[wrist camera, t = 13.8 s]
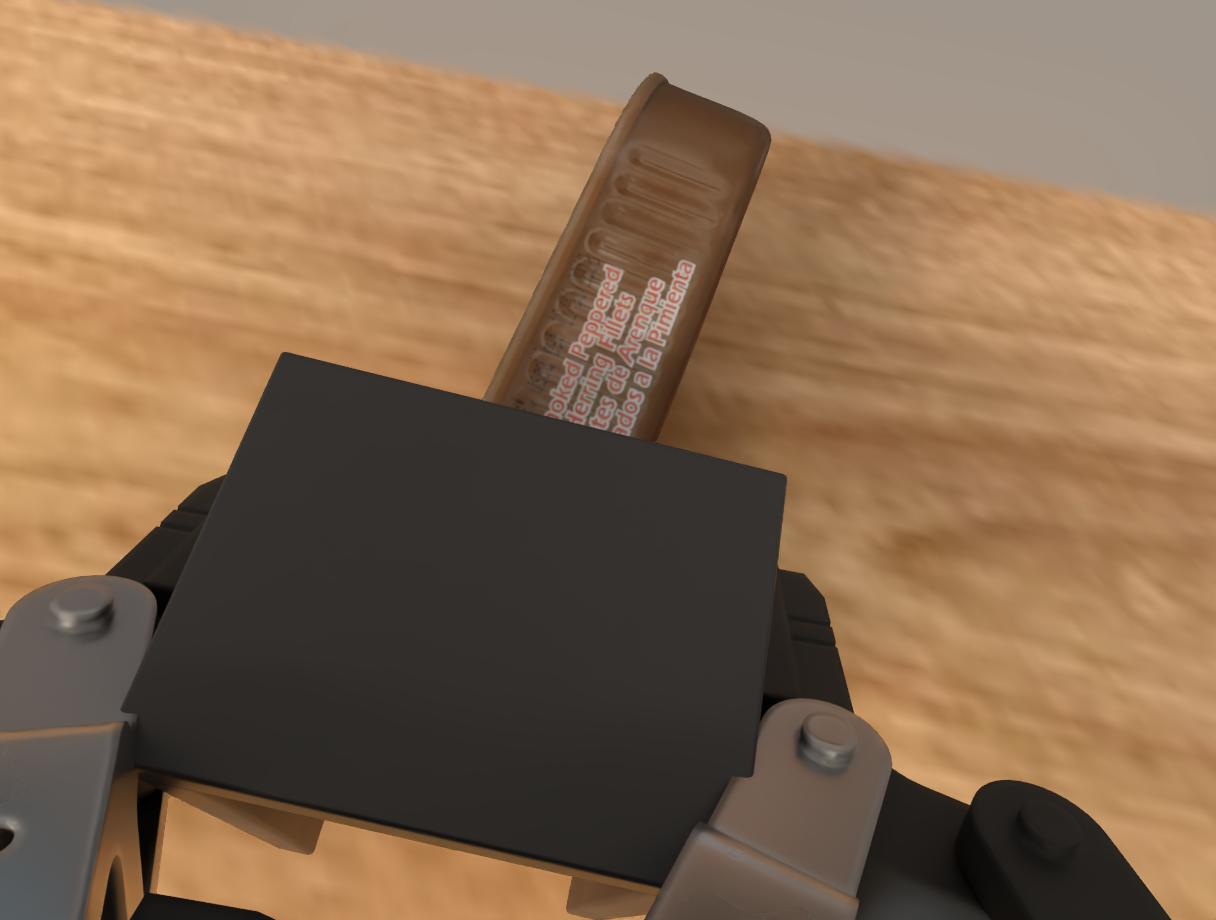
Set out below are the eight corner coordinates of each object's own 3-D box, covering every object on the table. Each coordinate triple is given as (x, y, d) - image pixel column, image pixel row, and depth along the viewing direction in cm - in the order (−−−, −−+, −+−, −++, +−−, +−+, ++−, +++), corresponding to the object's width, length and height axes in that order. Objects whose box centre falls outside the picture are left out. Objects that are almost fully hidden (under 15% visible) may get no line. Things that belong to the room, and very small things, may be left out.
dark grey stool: (645, 673, 16) (788, 472, 9) (602, 921, 14) (741, 907, 7) (358, 605, 16) (281, 348, 9) (275, 847, 14) (93, 760, 7)
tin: (629, 230, 24) (656, -43, 16) (741, 271, 24) (826, 12, 16) (372, 798, 19) (230, 804, 11) (510, 857, 19) (465, 907, 11)
